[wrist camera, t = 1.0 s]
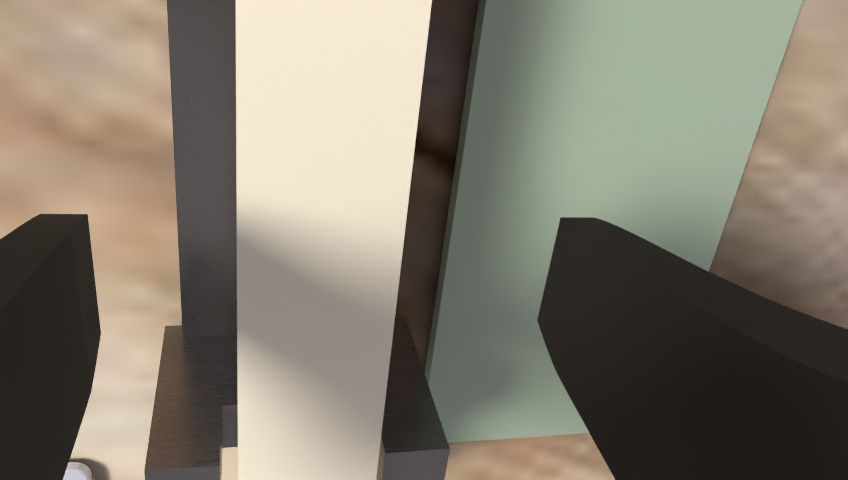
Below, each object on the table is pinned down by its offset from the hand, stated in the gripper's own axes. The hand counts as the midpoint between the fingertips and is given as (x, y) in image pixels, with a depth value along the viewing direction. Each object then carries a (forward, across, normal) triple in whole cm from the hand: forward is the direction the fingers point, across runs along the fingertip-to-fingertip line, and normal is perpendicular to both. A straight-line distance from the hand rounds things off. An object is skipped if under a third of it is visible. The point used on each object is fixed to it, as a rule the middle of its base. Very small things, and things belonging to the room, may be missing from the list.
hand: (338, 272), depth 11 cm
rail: (+5, 0, 0) cm, 5 cm away
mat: (+9, -9, +2) cm, 13 cm away
